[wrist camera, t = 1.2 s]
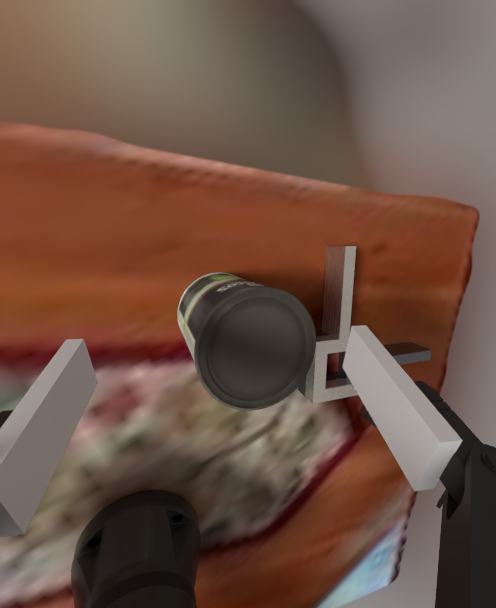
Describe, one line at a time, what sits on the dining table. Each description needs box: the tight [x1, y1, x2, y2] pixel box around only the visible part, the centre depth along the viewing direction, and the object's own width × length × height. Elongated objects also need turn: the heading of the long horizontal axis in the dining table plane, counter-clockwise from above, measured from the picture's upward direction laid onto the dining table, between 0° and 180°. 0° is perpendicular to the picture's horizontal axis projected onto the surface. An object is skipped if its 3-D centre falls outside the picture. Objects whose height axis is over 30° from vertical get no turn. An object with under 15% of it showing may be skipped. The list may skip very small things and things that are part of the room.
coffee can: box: [177, 272, 316, 410], centre depth 29 cm, size 10×10×14 cm
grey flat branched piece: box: [298, 246, 431, 404], centre depth 42 cm, size 21×21×4 cm
